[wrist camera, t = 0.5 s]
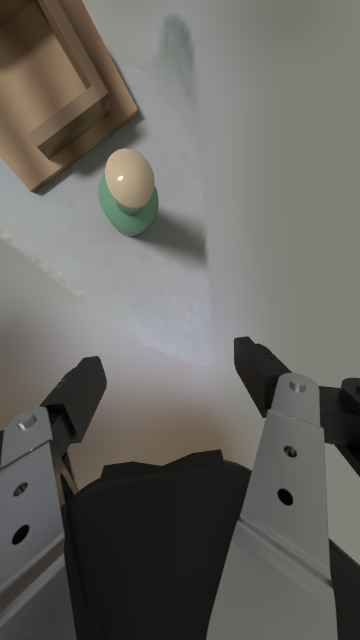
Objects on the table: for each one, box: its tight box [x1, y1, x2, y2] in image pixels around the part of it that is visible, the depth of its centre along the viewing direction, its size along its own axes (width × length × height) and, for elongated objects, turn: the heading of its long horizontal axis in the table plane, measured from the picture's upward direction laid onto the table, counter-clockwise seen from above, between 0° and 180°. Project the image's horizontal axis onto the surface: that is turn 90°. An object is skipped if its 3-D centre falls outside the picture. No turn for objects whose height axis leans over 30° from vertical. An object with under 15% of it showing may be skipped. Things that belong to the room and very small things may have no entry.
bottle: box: [99, 148, 158, 236], centre depth 21 cm, size 6×6×19 cm
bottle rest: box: [0, 0, 138, 193], centre depth 20 cm, size 18×14×4 cm
